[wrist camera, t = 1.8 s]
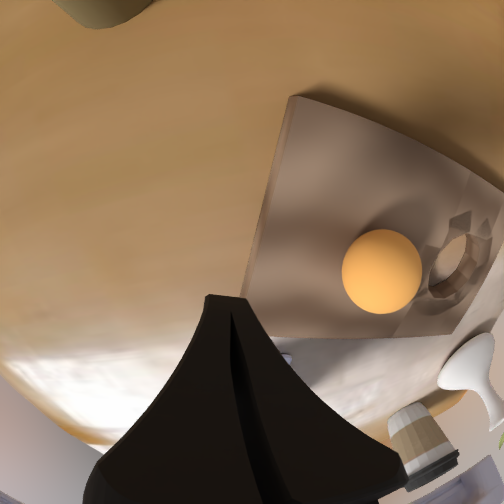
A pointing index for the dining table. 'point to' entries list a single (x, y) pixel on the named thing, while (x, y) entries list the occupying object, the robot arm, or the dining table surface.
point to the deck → (363, 226)
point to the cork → (102, 11)
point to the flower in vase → (474, 375)
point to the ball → (381, 271)
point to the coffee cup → (420, 445)
